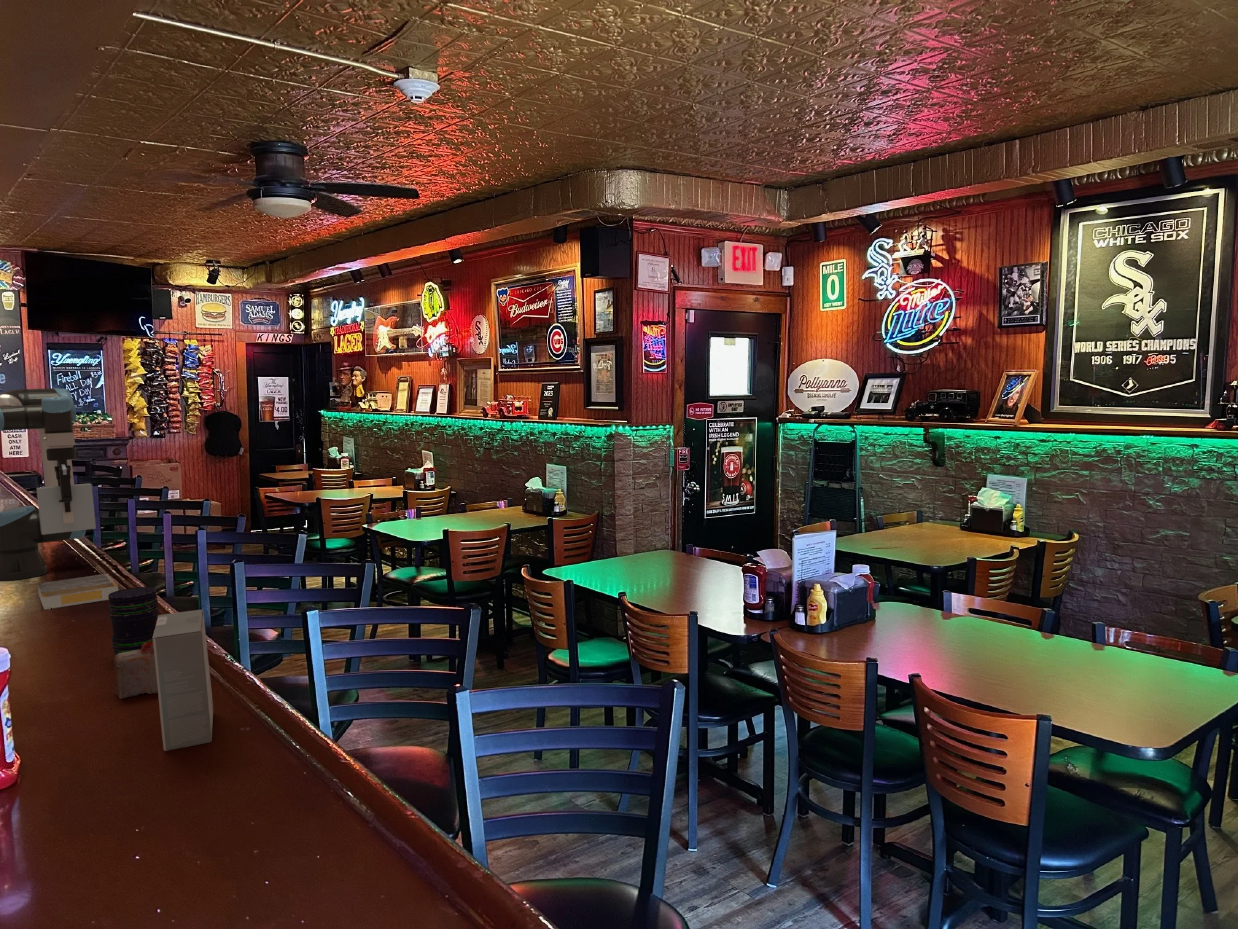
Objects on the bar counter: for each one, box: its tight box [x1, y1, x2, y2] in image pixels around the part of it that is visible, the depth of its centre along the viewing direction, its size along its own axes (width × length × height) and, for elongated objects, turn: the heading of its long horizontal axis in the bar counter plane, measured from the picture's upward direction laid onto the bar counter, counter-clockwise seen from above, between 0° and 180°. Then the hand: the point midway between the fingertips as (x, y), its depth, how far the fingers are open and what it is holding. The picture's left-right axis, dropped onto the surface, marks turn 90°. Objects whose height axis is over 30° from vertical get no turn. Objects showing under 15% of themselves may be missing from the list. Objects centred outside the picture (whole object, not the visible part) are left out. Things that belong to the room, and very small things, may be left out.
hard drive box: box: [152, 609, 214, 752], centre depth 150 cm, size 16×8×20 cm, turn 25°
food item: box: [112, 641, 158, 700], centre depth 174 cm, size 14×8×10 cm, turn 127°
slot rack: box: [37, 573, 119, 610], centre depth 258 cm, size 24×19×4 cm
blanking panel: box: [36, 483, 97, 535], centre depth 265 cm, size 5×14×14 cm, turn 127°
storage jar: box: [108, 586, 160, 659], centre depth 196 cm, size 10×10×15 cm
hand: (67, 521), depth 265 cm, fingers closed on blanking panel, 5 cm apart
